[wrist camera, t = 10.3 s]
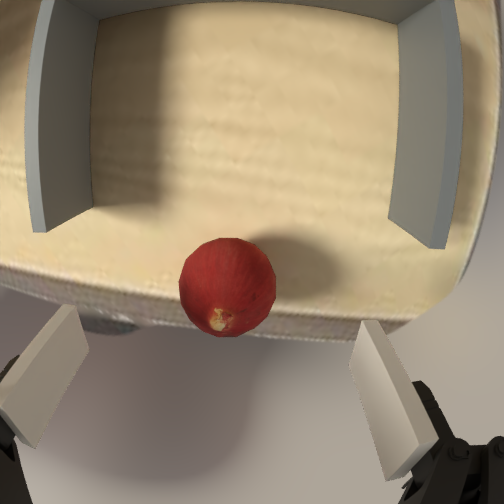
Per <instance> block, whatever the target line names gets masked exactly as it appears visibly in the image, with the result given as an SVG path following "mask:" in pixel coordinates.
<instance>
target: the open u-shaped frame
mask: <svg viewBox="0 0 504 504" xmlns="http://www.w3.org/2000/svg"><path fill="white" fill-rule="evenodd" d="M222 1H258V2H278V3H290V4H300V5H308V6H316V7H322V8H328V9H334V10H340V11H345V12H350V13H355V14H359V15H363V16H367V17H372V18H375V19H379V20H383V21H386V22H390V23H393V24H397V27H398V43H399V117H398V134H397V148H396V159H395V169H394V178H393V186H392V194H391V201H390V208H389V214H388V219H390V220H391V221H392V222H394V223H395V224H397V225H398V226H399V227H401V228H402V229H404V230H405V231H406V232H408V233H409V234H410V235H412V236H413V237H414V238H416V239H417V240H418V241H420V242H421V243H422V244H424V245H425V246H426V247H428V248H430V249H445V246H446V242H447V238H448V233H449V229H450V224H451V219H452V214H453V208H454V202H455V196H456V190H457V183H458V175H459V167H460V157H461V146H462V131H463V69H462V54H461V44H460V35H459V27H458V20H457V14H456V8H455V3H454V0H42V2H41V6H40V10H39V14H38V18H37V22H36V27H35V32H34V37H33V42H32V48H31V54H30V61H29V69H28V77H27V88H26V102H25V166H26V180H27V191H28V200H29V208H30V215H31V222H32V228H33V232H44V233H47V232H48V231H50V230H52V229H53V228H55V227H57V226H59V225H61V224H62V223H64V222H66V221H68V220H70V219H71V218H73V217H75V216H77V215H79V214H81V213H83V212H84V211H86V210H88V209H90V208H92V207H93V199H92V186H91V168H90V101H91V84H92V72H93V61H94V53H95V45H96V37H97V31H98V25H99V20H101V19H105V18H109V17H113V16H117V15H121V14H126V13H130V12H135V11H140V10H146V9H152V8H158V7H165V6H172V5H180V4H190V3H202V2H222Z"/></svg>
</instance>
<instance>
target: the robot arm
mask: <svg viewBox="0 0 504 504" xmlns="http://www.w3.org/2000/svg"><path fill="white" fill-rule="evenodd" d="M88 352H89V347H88V344H87V341H86V338H85V335H84V332H83V329H82V325H81V322H80V319H79V316H78V312H77V309H76V306H75V305H67V304H63V305H62V306H61V307H60V308H59V310H58V311H57V312H56V313H55V314H54V315H53V317H52V318H51V319H50V320H49V321H48V322H47V324H46V325H45V326H44V327H43V328H42V330H41V331H40V332H39V333H38V334H37V336H36V337H35V338H34V339H33V340H32V342H31V343H30V344H29V345H28V347H27V348H26V349H25V351H24V352H23V353H22V354H21V356H20V355H18V356H16V357H15V358H13V359H12V360H10V361H9V363H8V364H7V365H6V367H5V368H4V371H2V372H1V373H0V504H33V503H32V500H31V497H30V494H29V491H28V488H27V484H26V481H25V478H24V474H23V470H22V467H21V463H20V458H19V454H18V450H17V445H16V443H15V441H14V437H15V435H16V436H17V437H18V438H19V440H20V441H21V442H22V443H24V444H26V445H28V446H30V447H32V448H34V449H36V447H37V445H38V443H39V441H40V439H41V437H42V435H43V432H44V431H45V429H46V427H47V424H48V423H49V421H50V419H51V417H52V415H53V413H54V411H55V409H56V407H57V406H58V404H59V402H60V400H61V398H62V396H63V395H64V393H65V391H66V389H67V388H68V386H69V384H70V382H71V380H72V379H73V377H74V375H75V374H76V372H77V370H78V368H79V367H80V365H81V363H82V362H83V360H84V358H85V357H86V355H87V353H88ZM349 368H350V371H351V374H352V376H353V379H354V382H355V385H356V388H357V391H358V394H359V397H360V400H361V403H362V406H363V409H364V412H365V415H366V418H367V421H368V424H369V427H370V431H371V434H372V437H373V440H374V443H375V447H376V450H377V453H378V456H379V460H380V463H381V467H382V470H383V473H384V477H385V480H386V481H390V480H394V479H397V478H401V477H404V476H405V475H406V474H407V473H408V472H409V471H410V470H411V472H412V475H413V477H412V478H410V480H408V481H407V482H406V483H405V484H404V485H403V487H402V489H404V488H405V487H406V486H407V487H406V490H405V491H404V494H403V495H402V497H401V499H400V501H399V503H398V504H504V437H502V436H497V437H494V438H493V439H492V440H491V441H490V442H489V443H488V444H487V445H469V444H468V443H467V442H466V441H464V440H463V439H460V438H455V436H454V435H453V433H452V431H451V429H450V427H449V425H448V423H447V421H446V419H445V417H444V415H443V413H442V411H441V409H440V408H439V405H438V403H437V401H436V400H435V398H434V396H433V394H432V392H431V390H430V389H429V388H428V387H427V386H426V385H425V384H424V383H423V382H422V381H416V382H411V380H410V378H409V376H408V374H407V373H406V371H405V369H404V367H403V365H402V364H401V361H400V359H399V358H398V356H397V354H396V352H395V350H394V348H393V347H392V345H391V343H390V341H389V339H388V338H387V336H386V334H385V332H384V331H383V329H382V327H381V325H380V324H379V322H378V320H362V322H361V326H360V329H359V332H358V336H357V339H356V343H355V346H354V349H353V352H352V355H351V359H350V362H349Z"/></svg>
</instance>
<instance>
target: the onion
mask: <svg viewBox="0 0 504 504" xmlns="http://www.w3.org/2000/svg"><path fill="white" fill-rule="evenodd" d="M179 292H180V300H181V305H182V307H183V308H184V310H185V312H186V314H187V316H188V318H189V319H190V321H192V322H193V323H194V324H195V325H196V326H197V327H198V328H199V329H200V330H202V331H203V332H206V333H209V334H211V335H214V336H216V337H237V336H239V335H241V334H243V333H245V332H247V331H249V330H252V329H254V328H255V327H256V326H258V325H259V324H260V323H261V322H262V321H263V320H264V319H265V318H266V317H267V316H268V314H269V312H270V310H271V308H272V305H273V303H274V301H275V298H276V276H275V274H274V271H273V269H272V266H271V264H270V262H269V260H268V258H267V256H266V255H265V254H264V253H263V252H262V251H261V250H260V249H259V248H258V247H257V246H256V245H255V244H252V243H249V242H247V241H244V240H241V239H239V238H218V239H215V240H212V241H210V242H207V243H204V244H203V245H201V246H200V247H199V248H197V249H196V250H195V251H194V252H193V253H192V254H191V255H190V256H189V257H188V258H187V259H186V261H185V264H184V266H183V270H182V273H181V276H180V279H179Z"/></svg>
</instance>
